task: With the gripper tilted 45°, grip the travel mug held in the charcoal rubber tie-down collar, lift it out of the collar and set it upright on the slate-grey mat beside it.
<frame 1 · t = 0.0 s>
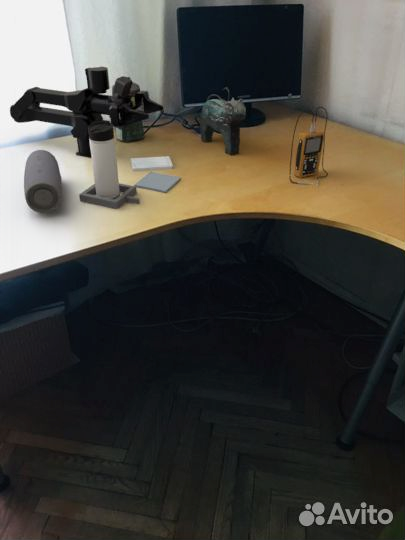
hand: (156, 112, 133), 17 cm above the table, tool horizontal, fingers open, 9 cm apart
coffee jar: (130, 139, 163), on the table
hard drive: (151, 167, 144), on the table
animal figurine: (219, 148, 157), on the table
tie-down collar: (108, 197, 125), on the table
mat: (157, 182, 133), on the table
travel mug: (108, 197, 125), resting in tie-down collar
multimeter: (313, 180, 137), on the table
bluetooth speaker: (46, 198, 124), on the table
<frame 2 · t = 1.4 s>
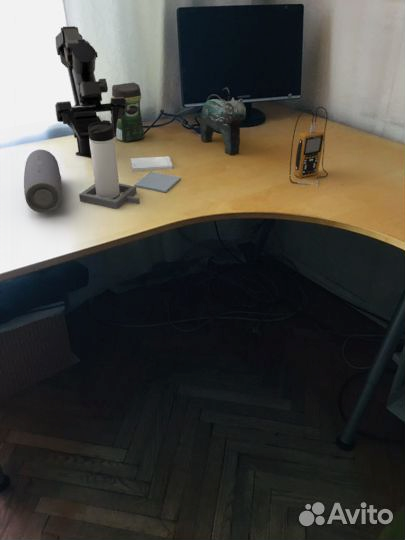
hand: (98, 138, 123), 14 cm above the table, tool tilted 45°, fingers open, 9 cm apart
nothing on the table moved.
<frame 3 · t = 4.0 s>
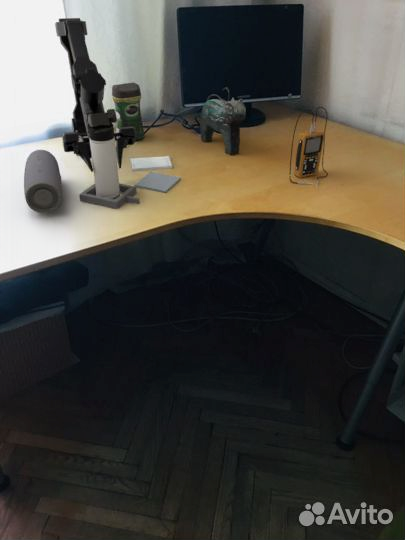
hand: (106, 169, 119), 9 cm above the table, tool tilted 45°, fingers open, 7 cm apart
travel mug: (108, 197, 125), resting in tie-down collar, touching gripper
everything else where it was.
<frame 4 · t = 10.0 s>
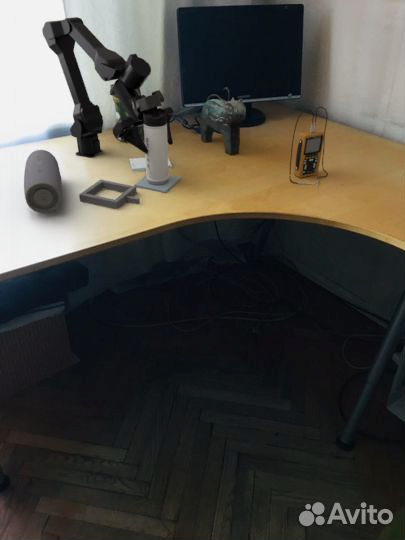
hand: (159, 148, 126), 11 cm above the table, tool tilted 45°, fingers open, 9 cm apart
travel mug: (157, 181, 133), resting on mat, touching gripper
everything else where it was.
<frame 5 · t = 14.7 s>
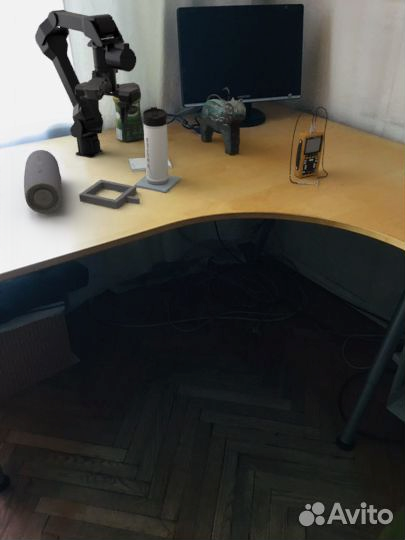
hand: (110, 122, 137), 13 cm above the table, tool pointing down, fingers open, 9 cm apart
travel mug: (157, 181, 133), resting on mat
everything else where it was.
at the end: travel mug 0.3 cm off-centre on the mat, point 0.4 cm above the mat's base; travel mug tilted 0°; the gripper is holding nothing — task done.
